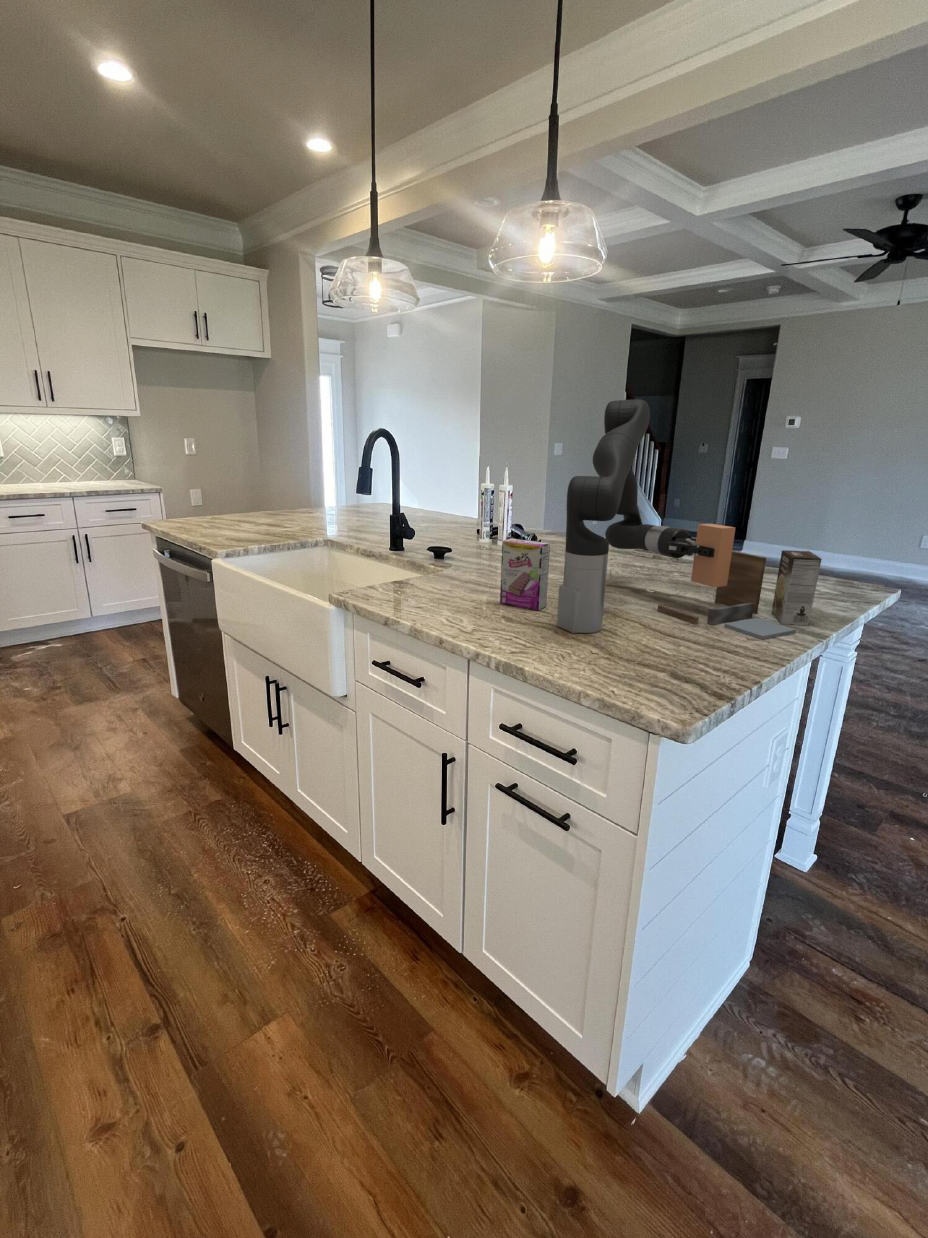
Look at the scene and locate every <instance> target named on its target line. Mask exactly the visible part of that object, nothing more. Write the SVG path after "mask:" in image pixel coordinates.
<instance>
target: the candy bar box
mask: <svg viewBox="0 0 928 1238" xmlns="http://www.w3.org/2000/svg"><path fill="white" fill-rule="evenodd" d="M501 544H502V545H501V564H500V566H501V571H500V591H499V592H500V594H499V595H500V597H499V604H500V603H501V605H506V606H510V605H512V606H511V607H516V608H521V607H522V608H521V609H526V608H529V609H528V610H533V611H537V610H539V611H541V610H542V608H543V609H544V607H545V608H546V607H547V602H548V601H547V600H548V599H547V597H548V587H549V586H548V584H549V583H548V582H549V570H550V569H549V568H550V552H551V543H548V542H543V541H534V540H526V539H518V538H507V539H504V540H502V543H501ZM540 609H541V610H540Z"/></svg>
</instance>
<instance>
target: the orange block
mask: <svg viewBox="0 0 928 1238" xmlns="http://www.w3.org/2000/svg"><path fill="white" fill-rule="evenodd" d="M735 534H736V527H733V526H729V525H728V526H727V525H722V524H715V523H702V524H698V525H697V532H696V537H695V538H696V544H699V545H701V546H705V547H710V548H714V549H715V551H714V557H706V556H701V555H699V556H696V555H693V562H692V563H693V564H692V572H691V577H690V578H691V579H690V582H692V583H695V584H696V583H697V584H699V585H703V586H708V587H712V588H717V587H721V586H727V582H728V575H729V568H730V562H731V555H732V551H733V546H734V541H735Z"/></svg>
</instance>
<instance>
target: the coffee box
mask: <svg viewBox="0 0 928 1238" xmlns="http://www.w3.org/2000/svg"><path fill="white" fill-rule="evenodd" d="M822 559H823V558H821V557H820V556H818V555H816V554H814V553H813V552H811V551H810V550H788V549H787V550H784V549H783V550H781V554H780V560H779V566H778V571H777V576H776V577H777V578H776V584H775V589H774V596H773V601H772V607H771V615H772V616H773V617H774V618H775V619H776V620H777V621H778V622H779V623H780V625H791V624H794V625H793V626H807V627H808V626H809V625H810V619H811V615H812V609H813V604H814V599H815V594H816V590H817V583H818V578H819V575H820V574H819V573H820V568H821V565H822V564H821V563H822Z"/></svg>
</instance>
